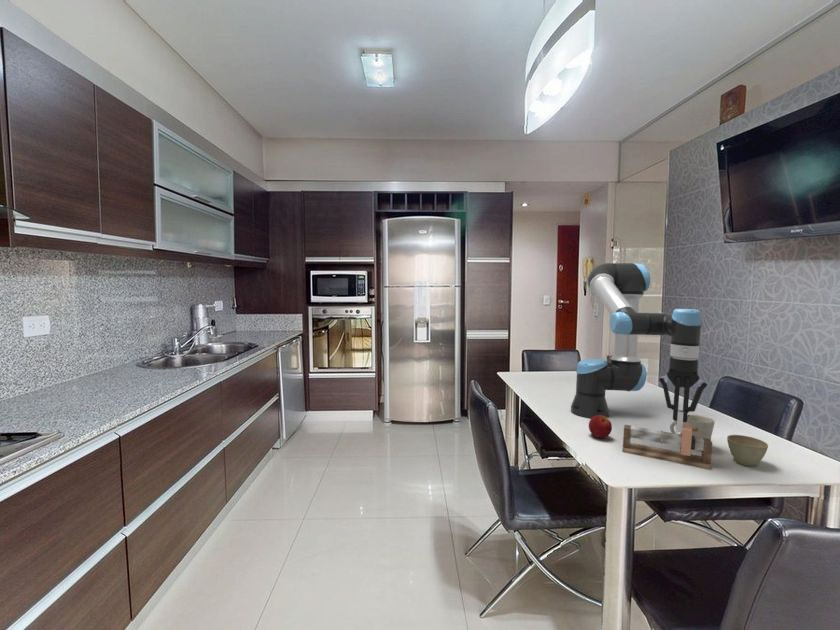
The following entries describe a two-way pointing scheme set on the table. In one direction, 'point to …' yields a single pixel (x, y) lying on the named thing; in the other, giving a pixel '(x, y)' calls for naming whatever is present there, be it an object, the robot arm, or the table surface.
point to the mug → (698, 426)
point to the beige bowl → (746, 449)
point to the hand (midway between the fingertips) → (679, 431)
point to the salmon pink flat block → (686, 439)
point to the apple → (600, 426)
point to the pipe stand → (664, 454)
